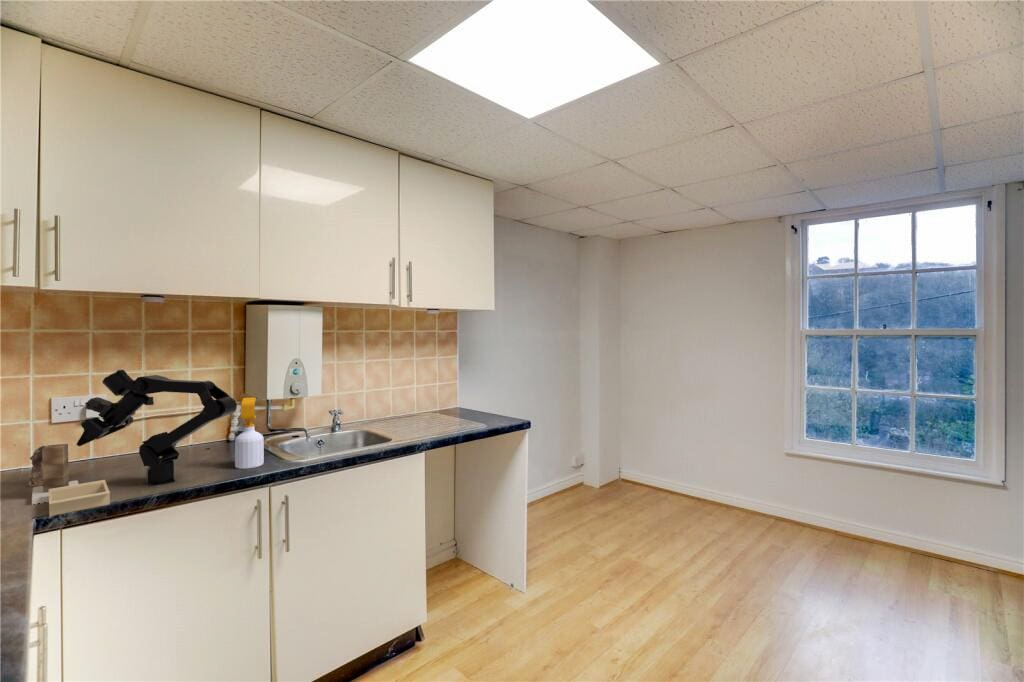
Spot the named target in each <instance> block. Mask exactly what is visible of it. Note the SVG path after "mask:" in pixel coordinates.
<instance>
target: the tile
mask: <svg viewBox="0 0 1024 682" xmlns="http://www.w3.org/2000/svg"><path fill="white" fill-rule="evenodd" d="M76 484H80V483H79V481H78V480H77V479H76V480H70V481H69V486H70V485H76ZM31 494H32V495H31V506H34V505H33V504H35V505H39V504H38V503H40V504H45V503H44V502H46V503H49V492H47V493H43V486H35V487H32V493H31Z"/></svg>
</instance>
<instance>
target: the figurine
mask: <svg viewBox="0 0 1024 682" xmlns="http://www.w3.org/2000/svg"><path fill="white" fill-rule="evenodd" d="M46 446H47V445H41V446H39V447H38V448H36V449H35V450H34V451H33V454H32V456H30V457H29V460H31V465H32V466H31V467H32V468H31V470H30V476H29V479H28V486H29V485H30V487H32V486H35V487H39V486H42V485H43V462H42V449H43V448H44V447H46Z"/></svg>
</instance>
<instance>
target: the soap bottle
mask: <svg viewBox="0 0 1024 682" xmlns="http://www.w3.org/2000/svg"><path fill="white" fill-rule="evenodd" d="M256 399H257V397H244V398H242V401H241V420H244V421H245V422H246V424H244V425H243V432H241V433H239V434H238V435H237V436H236V437H235V439H234V466H235V468H236V469H240V470H245V469H246V470H249V469H255V468H258V467H260V466H263V465H264V462H265V461H264V458H265V456H264V453H265V451H264V450H265V449H264V446H265V445H264V442H265V440H264V438H265V437H264V436H263V434H262V433H260V432H258V431H256V430H255V424H254V423H253V421H254V419H256V418H257V415H255V414H256V412H255V411H256V410H255V409H256V408H255V405H256V401H257V400H256Z"/></svg>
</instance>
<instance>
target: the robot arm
mask: <svg viewBox="0 0 1024 682" xmlns="http://www.w3.org/2000/svg"><path fill="white" fill-rule="evenodd" d="M102 384H103V385H104V386H105V387H106V388H107V389H108V390H109V391H110V392H111V393H112V394H113V395H114V396H116V397H119V396H121V397H120V399H119V400H118V401H117V402H112V401H110V400H107V399H105V398H102V397H97V396H96V397H93V398H90V399H88V401H86V402H85V409H86V410H89V411H93V412H97V415H98V416H99V417H97V416H95V417H94V416H91V417H89V418H86V419H85V420H83V421H82V422H81V423H80V426H81V427H82V428H83V432H82V434H81V436H80V437H79V438H78V441H77V443H76V444H75V445H76V446H78V447H81V446H84V445H86V444H88V443H90V442H93V441H95V440H99V439H102V438H105V437H106V436H109V435H111V434H114V433H116V432H119V431H120V430H123V429H125V428H127V427H129V426H130V425H131V424H133V422H134V417H133V416H135V414H136V413H137V411H138V410H139V409H140V408H142V406H144V405H145V406H154V404H155V403H154V396H149V394H150V395H151V394H156V393H181V394H182V393H184V394H197V395H198V397H199V399H200V402H201V404H202V406H203V408H202V410H201V411H200V413H198V414H197V415H195V416H193V417H191V418H190V419H189V420H187V421H185V422H184V423H183V424H181V425H178V427H176V428H174V429H173V430H171V431H170V432H168V431H164V432H160V433H157V434H154V435H152V436H150V437H149V438H148V439H147V440H143V441H142V442H141V443H142V444H141V445H139V448H138V449H139V450H138V453H139V456H140V459H141V461H142V464H143V467H147V468H146V469H145V471H146V474H145V475H146V482H147V484H149V486H155V485H156V484H157V485H161V484H167V482H168V483H172V481H173V482H176V479H175V461H176V460H178V459H179V456H180V452H178V451H177V449H176V448H175V447H177V444H178V443H179V442H181V441H182V440H183V441H184V439H186V438H187V437H190V435H193V434H194V433H195V432H198V431H199V430H200V429H202V428H204V427H205V426H207V425H209V424H210V423H211V422H213V421H216V420H218V419H221V418H224V417H227V416H229V415H231V414H234V413H235V412H236V411H237V407H238V404H237V401H236V400H235V398H232V397H230V394H228V393H227V392H226V391H225V390H222V388H220V387H218V386H217V385H216V384H215V383H214V382H213V381H211V380H204V381H203V380H182V379H172V378H168V377H167V376H163V375H158V374H152V375H146V376H145V375H144V376H139V377H136V379H133V378H132V377H131V376H130V375H129V374H128V373H127V372H126V370H124V369H118V370H116V371H115V372H113V373H111V374H109V375H108V376H105V377H104V378H103V380H102ZM98 413H99V414H98ZM100 418H102V419H100ZM174 460H175V461H174Z"/></svg>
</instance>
